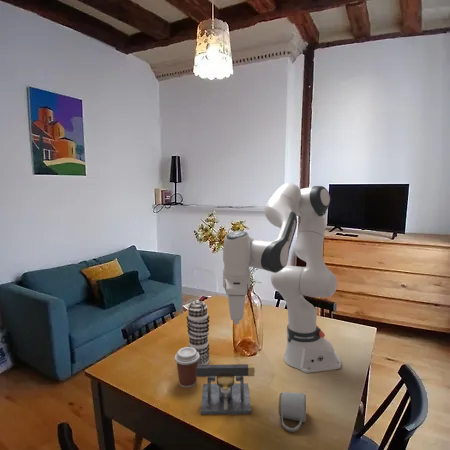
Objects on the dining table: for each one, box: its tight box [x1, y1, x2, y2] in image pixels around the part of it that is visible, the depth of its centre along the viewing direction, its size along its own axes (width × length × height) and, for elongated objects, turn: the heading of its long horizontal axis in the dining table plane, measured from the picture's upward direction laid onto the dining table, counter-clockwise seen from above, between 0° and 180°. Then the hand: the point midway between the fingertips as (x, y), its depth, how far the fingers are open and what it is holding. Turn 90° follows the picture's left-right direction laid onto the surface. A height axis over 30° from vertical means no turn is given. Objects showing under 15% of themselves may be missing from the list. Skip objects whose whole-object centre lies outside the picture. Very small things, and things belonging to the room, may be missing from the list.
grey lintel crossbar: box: [197, 363, 255, 391], centre depth 110 cm, size 19×9×6 cm, turn 90°
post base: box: [200, 376, 252, 416], centre depth 111 cm, size 16×14×8 cm
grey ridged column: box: [185, 300, 210, 365], centre depth 133 cm, size 9×9×25 cm
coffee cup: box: [174, 346, 200, 388], centre depth 120 cm, size 9×9×12 cm
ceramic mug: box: [278, 391, 307, 433], centre depth 101 cm, size 11×8×8 cm
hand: (236, 322), depth 108 cm, fingers closed
